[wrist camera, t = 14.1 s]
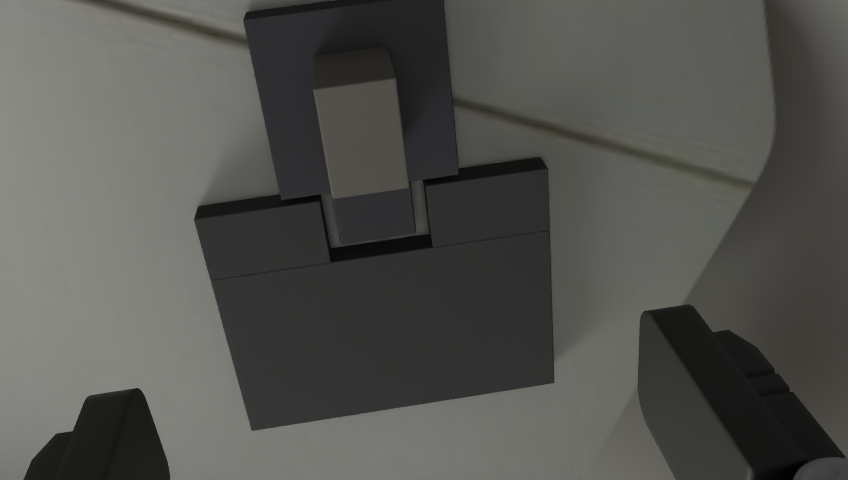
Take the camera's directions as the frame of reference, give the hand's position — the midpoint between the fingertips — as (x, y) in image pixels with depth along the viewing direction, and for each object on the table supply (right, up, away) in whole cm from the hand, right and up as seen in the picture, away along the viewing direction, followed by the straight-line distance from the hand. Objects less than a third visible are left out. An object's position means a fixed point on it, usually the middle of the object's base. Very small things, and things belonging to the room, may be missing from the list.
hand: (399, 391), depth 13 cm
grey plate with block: (-3, +8, +27) cm, 29 cm away
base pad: (-2, -1, +32) cm, 32 cm away
